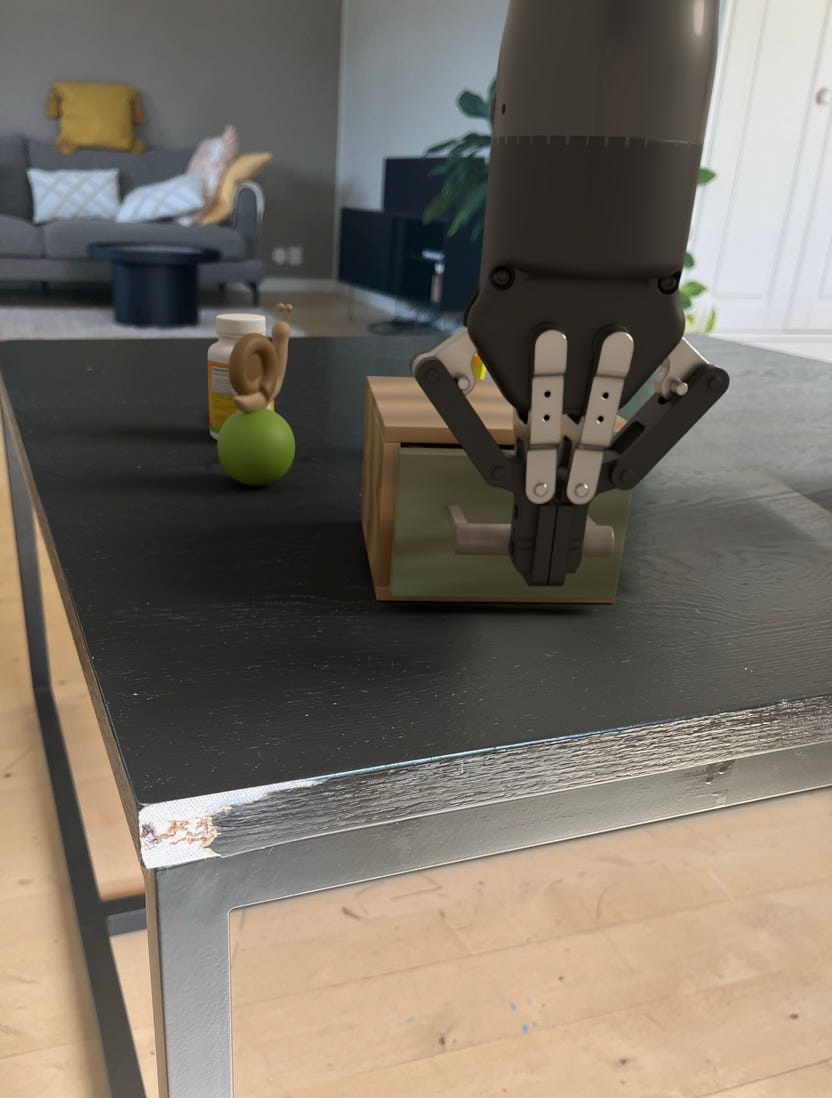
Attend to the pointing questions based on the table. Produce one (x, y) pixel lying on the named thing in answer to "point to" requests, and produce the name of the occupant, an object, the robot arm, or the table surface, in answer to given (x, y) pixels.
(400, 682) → the table surface
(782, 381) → the table surface
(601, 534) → the drawer
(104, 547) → the table surface
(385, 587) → the cabinet
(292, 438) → the snail figurine
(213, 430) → the supplement bottle
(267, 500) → the table surface
